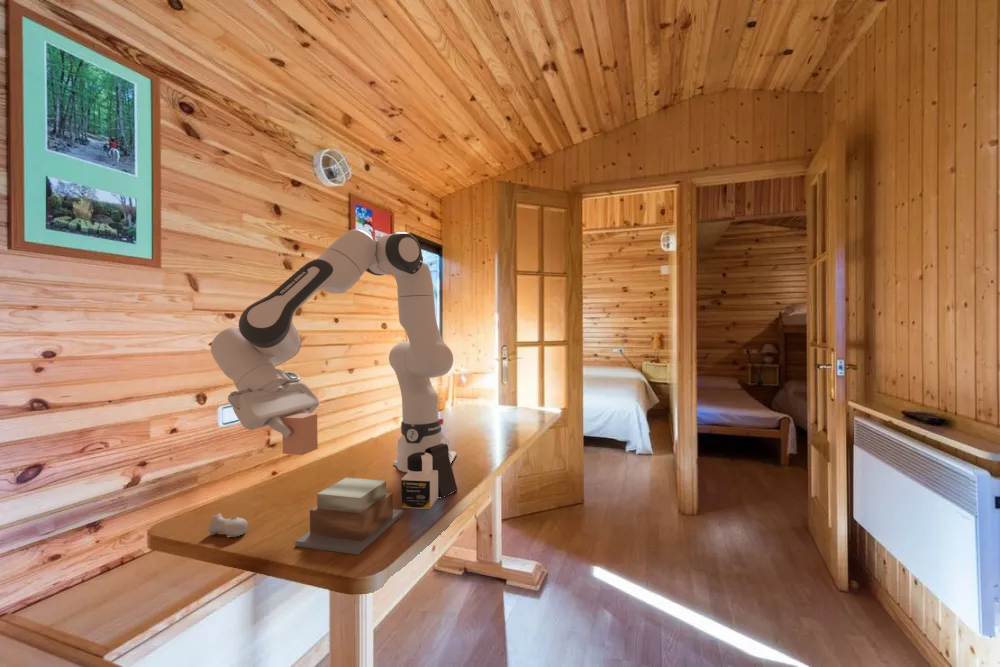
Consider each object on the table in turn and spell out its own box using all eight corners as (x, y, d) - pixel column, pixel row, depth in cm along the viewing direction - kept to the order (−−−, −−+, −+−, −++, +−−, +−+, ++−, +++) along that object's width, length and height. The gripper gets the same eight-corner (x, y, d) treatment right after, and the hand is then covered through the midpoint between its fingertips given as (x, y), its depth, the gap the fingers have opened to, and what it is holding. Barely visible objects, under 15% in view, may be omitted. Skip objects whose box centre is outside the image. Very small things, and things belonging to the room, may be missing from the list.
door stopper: (416, 491, 112) (416, 445, 112) (433, 484, 117) (432, 440, 116) (441, 499, 106) (441, 451, 106) (457, 491, 111) (457, 445, 111)
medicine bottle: (401, 508, 101) (400, 458, 101) (411, 496, 108) (410, 449, 108) (430, 509, 100) (429, 459, 100) (438, 498, 107) (438, 450, 107)
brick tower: (345, 510, 98) (345, 475, 98) (392, 515, 95) (392, 479, 95) (310, 534, 86) (309, 495, 86) (362, 541, 83) (361, 500, 83)
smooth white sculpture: (251, 538, 90) (230, 542, 85) (223, 532, 92) (201, 535, 87) (257, 516, 91) (236, 519, 86) (229, 511, 93) (207, 513, 89)
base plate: (349, 508, 101) (349, 504, 101) (403, 514, 97) (403, 510, 97) (295, 546, 84) (295, 540, 84) (358, 554, 80) (358, 549, 80)
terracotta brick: (299, 447, 98) (298, 412, 98) (317, 448, 97) (317, 413, 97) (282, 453, 93) (282, 417, 93) (302, 455, 92) (301, 418, 92)
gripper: (232, 383, 87) (273, 433, 84) (302, 372, 106) (337, 413, 104) (215, 404, 88) (255, 454, 85) (288, 390, 108) (321, 430, 105)
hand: (300, 431), depth 95 cm, fingers closed on terracotta brick, 5 cm apart
